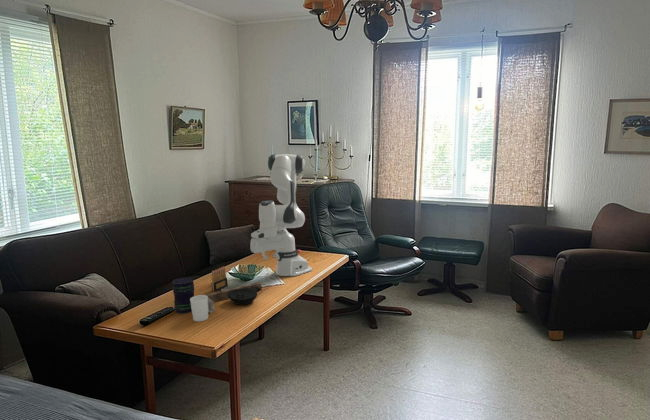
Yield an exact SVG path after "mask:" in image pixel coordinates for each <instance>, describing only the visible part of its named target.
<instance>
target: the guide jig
mask: <svg viewBox="0 0 650 420" xmlns="http://www.w3.org/2000/svg"><path fill="white" fill-rule="evenodd" d="M252 286H253V287H259V288H260V291H262V289H263V288H262V282H259V281H258V282H253V283H250V284H246V285H242V286H238V287H234V288H229V289H225V290H224V289H223V290H219V291H216V292H211V293H208V294H205V295H206V296H208V313H210V314H211V313H215V304H214V303H216V302H219V301H224V300H229V298H228V294H229V293H230V292H231V291H233V290H237V289H245V288H251V287H252Z"/></svg>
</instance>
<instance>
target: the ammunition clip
mask: <svg viewBox="0 0 650 420" xmlns="http://www.w3.org/2000/svg"><path fill="white" fill-rule="evenodd" d="M226 272H227V271H226V267H225V265H223V266H220V267H219V268H216V269H214V270H213V269H212V271H211V293H216V292H219V291H221V290H222V289H223V290H224V289H225V288H226V287H228V286H229V285H228V278H227V273H226Z"/></svg>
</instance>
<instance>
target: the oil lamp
mask: <svg viewBox="0 0 650 420" xmlns="http://www.w3.org/2000/svg"><path fill="white" fill-rule="evenodd" d="M260 291H261V290H260V288H259V287H253V286H252V287H251V288H245V289H237V290H233V291H231V292H230V293H229V294H228V300H230V301H231V302H232V303H233V304H235V305H243V306H244V305H248V304H250V303H252V302H253V301H255V299H256V298H257V297H258V293H259V292H260Z"/></svg>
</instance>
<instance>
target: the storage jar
mask: <svg viewBox="0 0 650 420" xmlns="http://www.w3.org/2000/svg"><path fill="white" fill-rule="evenodd" d="M194 282H195V281H194V278H193V277H187V276H186V277H179V278H176V279H173V280H172V293H173V296H174V300H173V303H174V304H173V305H174V306H173V307H174V310H175V311H174V312H175V313H176V314H178V313H179V314H180V315H181V314H182V315H183V314H189V313H192V310H191V303H190V298H192V297H194V296H195V283H194Z"/></svg>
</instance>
